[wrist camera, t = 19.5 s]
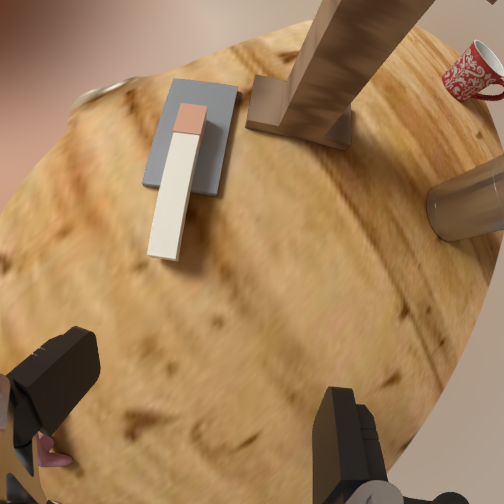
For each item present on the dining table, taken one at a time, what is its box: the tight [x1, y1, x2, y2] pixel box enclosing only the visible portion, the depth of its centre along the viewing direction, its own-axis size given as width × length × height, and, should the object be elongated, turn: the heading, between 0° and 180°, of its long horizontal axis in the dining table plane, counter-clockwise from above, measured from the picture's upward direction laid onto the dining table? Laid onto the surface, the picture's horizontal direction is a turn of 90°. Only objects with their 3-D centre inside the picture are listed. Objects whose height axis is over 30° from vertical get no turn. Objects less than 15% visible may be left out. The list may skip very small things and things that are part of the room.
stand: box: [245, 0, 497, 151], centre depth 22 cm, size 14×9×32 cm, turn 82°
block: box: [147, 103, 207, 261], centre depth 32 cm, size 3×18×3 cm, turn 173°
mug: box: [442, 40, 504, 101], centre depth 39 cm, size 13×9×14 cm
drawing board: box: [142, 79, 238, 196], centre depth 35 cm, size 9×16×1 cm, turn 172°
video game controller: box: [35, 432, 73, 467], centre depth 25 cm, size 10×5×7 cm, turn 179°
